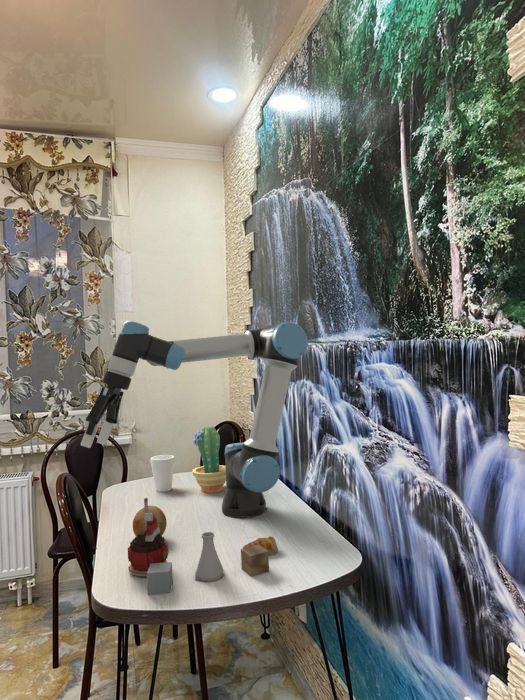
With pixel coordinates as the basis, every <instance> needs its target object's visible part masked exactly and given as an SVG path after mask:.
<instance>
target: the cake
mask: <svg viewBox="0 0 525 700" xmlns="http://www.w3.org/2000/svg"><path fill="white" fill-rule="evenodd" d="M148 501H149V499H148V497H144V498H143V502H144V503H143V504H144V505H143V506H144V507H143V508H144V509H145V516H144V520H145V531H141V532H140V533H139V534H138V535H137V536H135V537H134V538H133V539H132V540H131V542H129V546H128V547H127V560H128V562H130V564H129V566H128V568H127V569H128V573H130V574H131V575H133V576H134V575H135V576H136V577H147V571H148V569H149V566H150V564H152V563H166V562H168V561H167V559H168V558H169V546H168V544H167V541H166V540H165V538H164V536H163V535H162V536H161V534H159V533H160V529H159V527H158V523H157V519H156V517H155V515H154V513H148V506H149V502H148Z"/></svg>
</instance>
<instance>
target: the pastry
mask: <svg viewBox="0 0 525 700" xmlns="http://www.w3.org/2000/svg"><path fill="white" fill-rule="evenodd" d="M255 545H260V546H261V547H263V548H264V549H266V550H267V551H268V556H274V555H277V554H278V552H279V547H278V545H277V542H276V539H275V537H274V536H271V535H269V536H268V537H258V538H257V539H255V540H253V541H250V542H248V543H247V544H245V545H243V546H242V549H244V548H248V547H251V546H255Z"/></svg>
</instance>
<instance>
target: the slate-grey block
mask: <svg viewBox="0 0 525 700" xmlns="http://www.w3.org/2000/svg"><path fill="white" fill-rule="evenodd" d="M173 583H174V581H173V562H172V561H167V562H166V563H152V564H150V566H149V569H148V571H147V576H146V585H147V587H146V591H147V596H154V595H169V594H171V592H172V587H173Z"/></svg>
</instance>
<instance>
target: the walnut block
mask: <svg viewBox="0 0 525 700" xmlns="http://www.w3.org/2000/svg"><path fill="white" fill-rule="evenodd" d="M269 556H270V555H269ZM269 556H268V551H267V550H266V549H264V548H263V547H261V546H260V545H255V546H251V547H248V548H244V549H243V548H241V549H240V561H241V563H240V566H241V570H242V571H243V572H244V573H246V574H247V575H248V576H249V577H251V578H253V577H256V576H259V575H262V574H265V573H270V561H269Z"/></svg>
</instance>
